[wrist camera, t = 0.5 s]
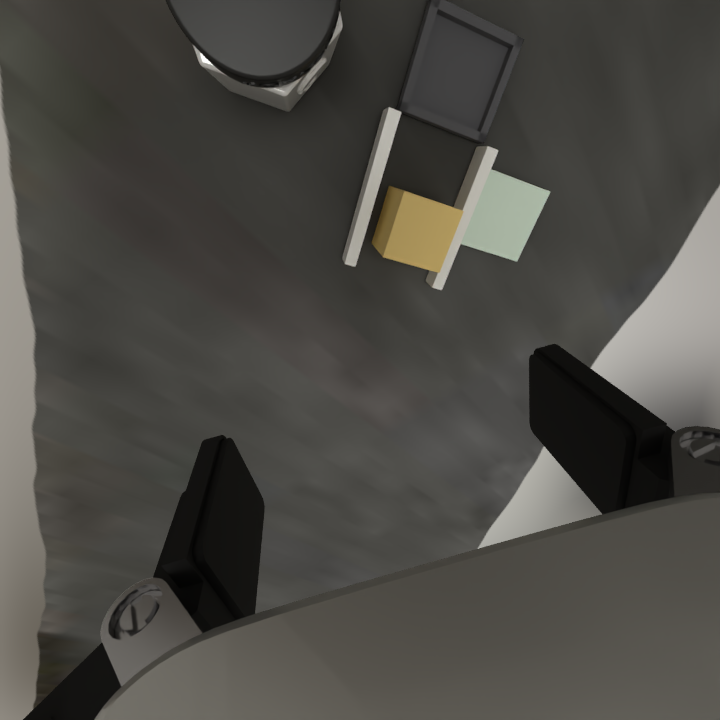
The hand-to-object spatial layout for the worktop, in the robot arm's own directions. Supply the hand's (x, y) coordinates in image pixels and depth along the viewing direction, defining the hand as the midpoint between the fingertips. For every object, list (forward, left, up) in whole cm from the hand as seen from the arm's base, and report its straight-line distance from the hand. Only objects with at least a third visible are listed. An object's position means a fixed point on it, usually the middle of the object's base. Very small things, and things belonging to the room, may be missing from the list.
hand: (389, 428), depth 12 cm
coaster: (-7, +15, -26) cm, 31 cm away
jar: (-13, -8, -26) cm, 30 cm away
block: (-4, +6, -26) cm, 27 cm away
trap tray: (-15, +6, -26) cm, 31 cm away
